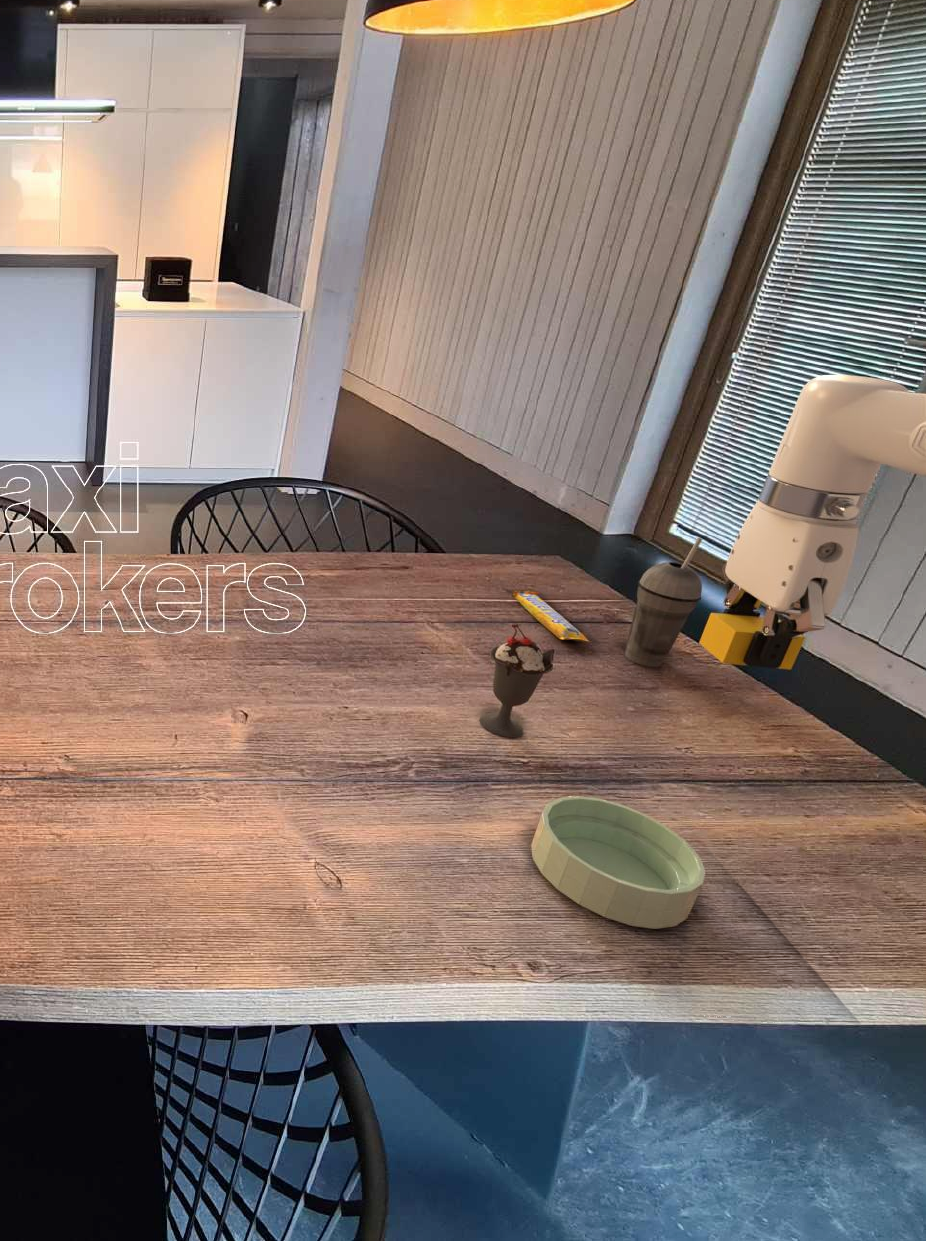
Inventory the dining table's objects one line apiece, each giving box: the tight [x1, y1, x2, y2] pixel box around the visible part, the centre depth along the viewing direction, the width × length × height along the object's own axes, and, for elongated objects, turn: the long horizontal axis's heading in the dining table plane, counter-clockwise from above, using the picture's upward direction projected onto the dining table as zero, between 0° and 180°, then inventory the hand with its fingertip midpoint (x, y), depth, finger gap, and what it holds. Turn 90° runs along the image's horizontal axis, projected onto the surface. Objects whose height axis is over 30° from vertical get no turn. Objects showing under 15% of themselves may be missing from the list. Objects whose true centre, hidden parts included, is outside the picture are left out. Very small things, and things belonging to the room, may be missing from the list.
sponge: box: [698, 612, 806, 671], centre depth 90 cm, size 6×4×4 cm
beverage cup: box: [624, 537, 703, 668], centre depth 118 cm, size 7×7×20 cm
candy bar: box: [512, 590, 592, 643], centre depth 132 cm, size 17×4×2 cm, turn 174°
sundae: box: [479, 623, 555, 739], centre depth 103 cm, size 7×7×15 cm
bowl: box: [530, 795, 707, 930], centre depth 81 cm, size 13×13×5 cm
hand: (745, 652), depth 90 cm, fingers closed on sponge, 4 cm apart
